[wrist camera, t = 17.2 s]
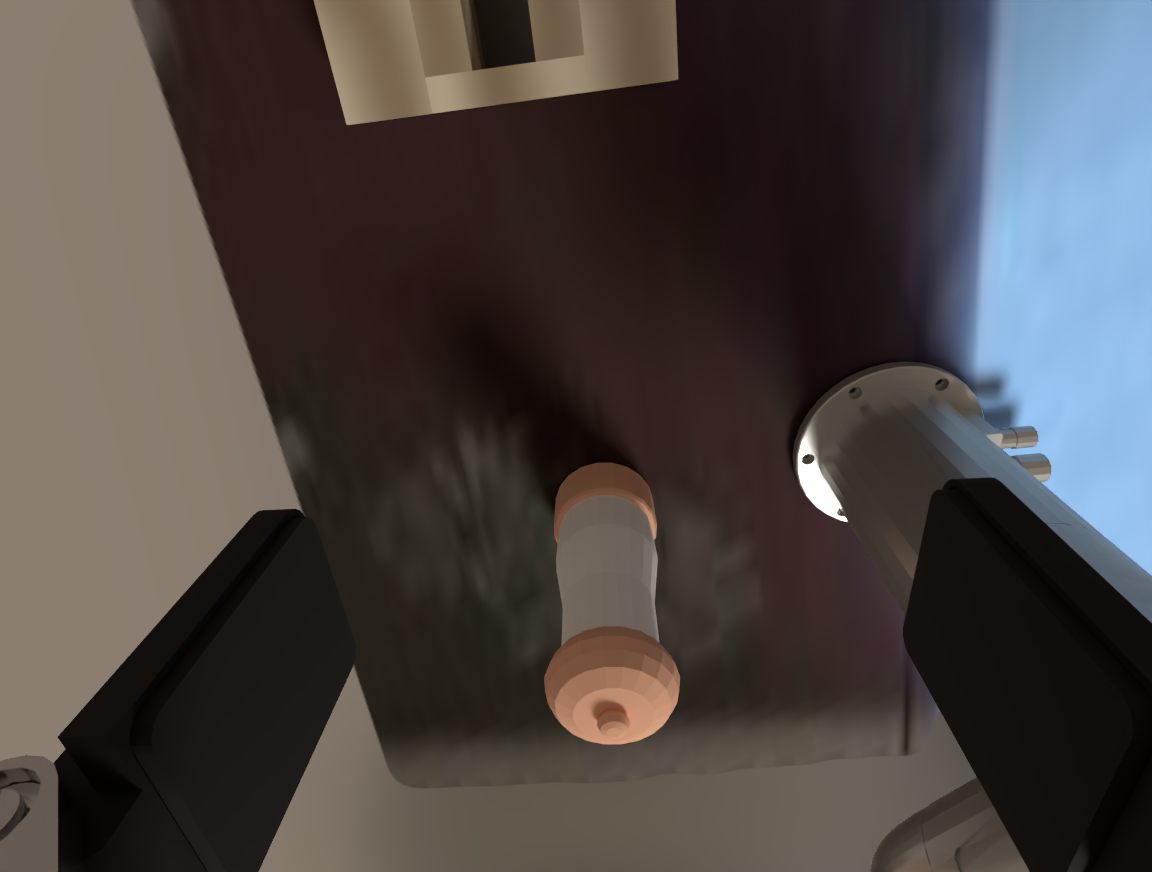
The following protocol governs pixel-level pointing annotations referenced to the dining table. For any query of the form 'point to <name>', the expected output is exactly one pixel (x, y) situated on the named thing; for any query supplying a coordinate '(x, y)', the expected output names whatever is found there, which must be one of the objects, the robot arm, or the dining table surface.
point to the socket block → (490, 51)
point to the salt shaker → (608, 610)
